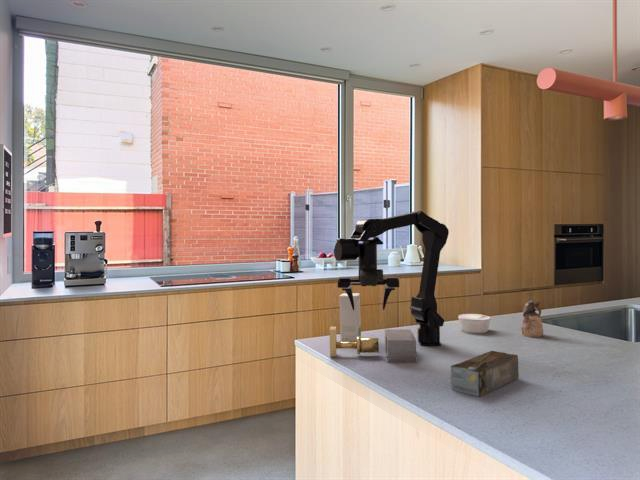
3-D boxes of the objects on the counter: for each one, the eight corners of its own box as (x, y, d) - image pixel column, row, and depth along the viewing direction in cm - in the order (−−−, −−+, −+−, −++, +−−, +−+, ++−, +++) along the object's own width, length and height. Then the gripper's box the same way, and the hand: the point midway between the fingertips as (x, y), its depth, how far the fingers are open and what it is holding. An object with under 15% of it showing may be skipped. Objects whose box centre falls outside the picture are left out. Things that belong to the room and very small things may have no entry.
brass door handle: (378, 352, 146) (377, 326, 146) (378, 356, 141) (378, 329, 141) (330, 352, 147) (330, 326, 147) (330, 356, 142) (329, 330, 142)
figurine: (525, 331, 171) (525, 298, 171) (546, 334, 166) (546, 300, 166) (517, 335, 166) (517, 300, 166) (538, 338, 161) (538, 302, 161)
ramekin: (495, 334, 169) (494, 319, 169) (463, 334, 169) (463, 319, 169) (484, 327, 180) (484, 313, 180) (454, 327, 180) (454, 313, 180)
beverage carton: (448, 389, 114) (448, 362, 114) (491, 372, 127) (491, 348, 126) (479, 398, 108) (478, 369, 108) (520, 379, 121) (520, 353, 120)
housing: (410, 349, 150) (410, 329, 150) (416, 362, 136) (416, 340, 136) (384, 349, 150) (384, 329, 150) (387, 362, 136) (387, 340, 136)
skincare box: (358, 342, 160) (357, 296, 160) (339, 341, 162) (338, 295, 161) (361, 336, 169) (360, 292, 168) (342, 336, 170) (342, 292, 169)
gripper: (336, 262, 140) (337, 314, 141) (400, 261, 139) (401, 314, 140) (337, 259, 152) (338, 308, 152) (397, 258, 150) (398, 307, 151)
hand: (368, 309), depth 148 cm, fingers open, 9 cm apart
